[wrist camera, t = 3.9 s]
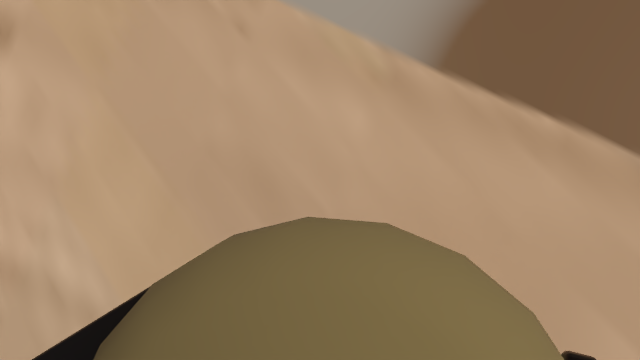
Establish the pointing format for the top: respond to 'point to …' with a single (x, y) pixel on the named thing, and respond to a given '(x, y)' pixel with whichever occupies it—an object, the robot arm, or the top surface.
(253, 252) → the cork
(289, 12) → the top surface
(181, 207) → the top surface
